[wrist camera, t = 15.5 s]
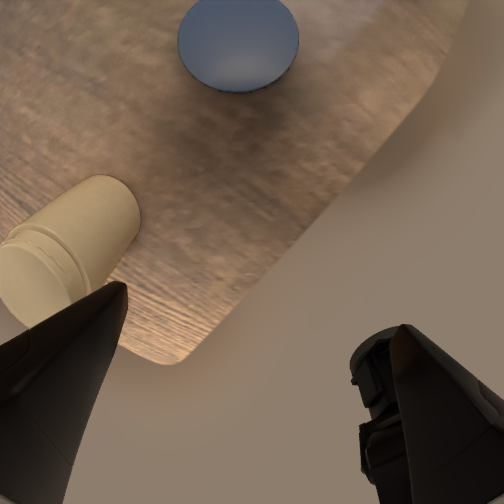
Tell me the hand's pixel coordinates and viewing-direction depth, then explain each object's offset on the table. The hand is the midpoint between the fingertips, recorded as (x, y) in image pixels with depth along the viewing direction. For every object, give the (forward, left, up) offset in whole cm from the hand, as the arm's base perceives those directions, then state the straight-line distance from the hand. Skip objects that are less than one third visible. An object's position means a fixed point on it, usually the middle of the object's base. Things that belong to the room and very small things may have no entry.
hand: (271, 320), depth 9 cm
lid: (+3, -10, -11) cm, 15 cm away
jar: (+11, +3, -13) cm, 17 cm away
